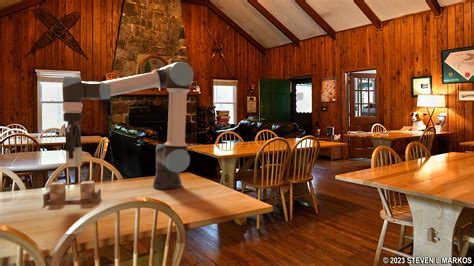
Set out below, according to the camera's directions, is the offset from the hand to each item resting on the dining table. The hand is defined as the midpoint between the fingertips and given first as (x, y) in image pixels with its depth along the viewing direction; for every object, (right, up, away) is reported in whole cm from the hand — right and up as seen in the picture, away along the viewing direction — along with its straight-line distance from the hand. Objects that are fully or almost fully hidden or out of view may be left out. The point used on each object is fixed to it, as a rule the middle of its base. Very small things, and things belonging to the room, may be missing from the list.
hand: (74, 165), depth 157 cm
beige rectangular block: (0, 0, 0) cm, 0 cm away
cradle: (-2, -17, +3) cm, 17 cm away
